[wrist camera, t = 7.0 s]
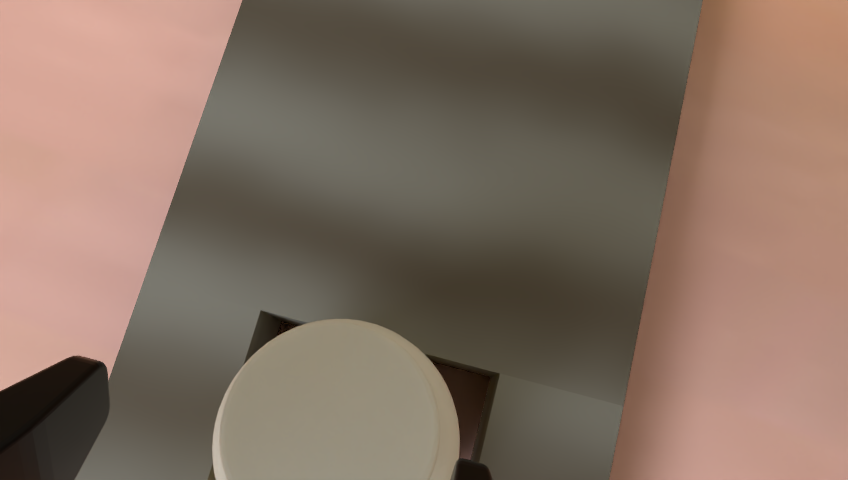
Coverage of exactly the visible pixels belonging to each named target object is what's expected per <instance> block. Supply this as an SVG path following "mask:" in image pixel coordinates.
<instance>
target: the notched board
mask: <svg viewBox="0 0 848 480" xmlns="http://www.w3.org/2000/svg"><path fill="white" fill-rule="evenodd" d="M702 1H703V0H243V1H242V3H241V6H240V9H239V12H238V15H237V18H236V20H235V23H234V26H233V29H232V32H231V35H230V37H229V40H228V43H227V46H226V49H225V52H224V55H223V57H222V60H221V63H220V66H219V69H218V72H217V74H216V77H215V80H214V83H213V86H212V89H211V91H210V94H209V97H208V100H207V103H206V106H205V108H204V111H203V114H202V117H201V120H200V123H199V126H198V128H197V131H196V134H195V137H194V140H193V143H192V145H191V148H190V151H189V154H188V157H187V160H186V162H185V165H184V168H183V171H182V174H181V177H180V179H179V182H178V185H177V188H176V191H175V194H174V197H173V199H172V202H171V205H170V208H169V211H168V214H167V216H166V219H165V222H164V225H163V228H162V231H161V233H160V236H159V239H158V242H157V245H156V248H155V250H154V253H153V256H152V259H151V262H150V265H149V268H148V270H147V273H146V276H145V279H144V282H143V285H142V287H141V290H140V293H139V296H138V299H137V302H136V304H135V307H134V310H133V313H132V316H131V319H130V321H129V324H128V327H127V330H126V333H125V336H124V339H123V341H122V344H121V347H120V350H119V353H118V356H117V358H116V361H115V364H114V367H113V370H112V373H111V375H110V378H109V381H108V384H109V395H110V411H109V415H108V418H107V421H106V423H105V425H104V427H103V428H102V430H101V432H100V434H99V436H98V438H97V440H96V441H95V443H94V445H93V447H92V449H91V451H90V452H89V454H88V456H87V458H86V460H85V462H84V464H83V465H82V467H81V469H80V471H79V473H78V475H77V476H76V478H75V480H216V478H215V474H214V468H213V457H212V444H213V432H214V426H215V421H216V418H217V414H218V410H219V407H220V405H221V402H222V400H223V397H224V395H225V393H226V391H227V389H228V387H229V385H230V384H231V382H232V380H233V379H234V377H235V376H236V374H237V373H238V372H239V370H240V369H241V368H242V366H243V365H244V364H245V363H246V362H247V361H248V360H249V359H250V357H251V356H252V355H253V354H255V353H256V352H257V351H258V350H259V349H260V348H261V347H263V346H264V345H265V344H266V343H268V342H269V341H271V340H272V339H274V338H275V337H277V334H278V331H279V327H280V324H281V322H285V323H289V324H293V325H297V326H301V325H303V324H306V323H311V322H315V321H320V320H328V319H352V320H360V321H365V322H369V323H373V324H377V325H379V326H382V327H384V328H387V329H389V330H391V331H393V332H395V333H397V334H399V335H400V336H402V337H403V338H405V339H406V340H408V341H409V342H411V343H412V344H413V345H414V346H416V347H417V348H418V349H419V350H420V351H421V352H422V353H424V354H425V355H426V356H427V358H428V359H429V360H430V361H432V362H436V363H440V364H444V365H447V366H451V367H455V368H459V369H463V370H466V371H470V372H474V373H478V374H481V375H485V376H489V377H490V381H489V385H488V389H487V393H486V398H485V402H484V406H483V410H482V414H481V419H480V423H479V427H478V431H477V435H476V440H475V444H474V448H473V452H472V457H471V461H474V462H478V463H482V464H484V465H486V466H487V467H488V468H489V470H490V472H491V475H492V479H493V480H609V477H610V472H611V467H612V462H613V457H614V452H615V447H616V442H617V436H618V431H619V426H620V421H621V416H622V411H623V406H624V401H625V396H626V390H627V385H628V380H629V375H630V370H631V365H632V360H633V355H634V349H635V344H636V339H637V334H638V329H639V324H640V319H641V314H642V309H643V303H644V298H645V293H646V288H647V283H648V278H649V273H650V268H651V262H652V257H653V252H654V247H655V242H656V237H657V232H658V227H659V222H660V216H661V211H662V206H663V201H664V196H665V191H666V186H667V181H668V175H669V170H670V165H671V160H672V155H673V150H674V145H675V140H676V135H677V129H678V124H679V119H680V114H681V109H682V104H683V99H684V94H685V88H686V83H687V78H688V73H689V68H690V63H691V58H692V53H693V48H694V42H695V37H696V32H697V27H698V22H699V17H700V12H701V7H702Z"/></svg>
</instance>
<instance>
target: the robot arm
mask: <svg viewBox="0 0 848 480" xmlns="http://www.w3.org/2000/svg"><path fill="white" fill-rule="evenodd" d="M109 411H110V395H109V384H108V372H107V367H106V366H105V364H104V363H103V362H101V361H97V360H94V359H90V358H86V357H82V356H72V357H69V358H66V359H64V360H62V361H60V362H58V363H56V364H54V365H52V366H50V367H48V368H46V369H44V370H42V371H40V372H38V373H36V374H34V375H32V376H30V377H28V378H26V379H24V380H22V381H20V382H18V383H16V384H14V385H12V386H10V387H8V388H6V389H4V390H2V391H0V480H75V478H76V476H77V475H78V473H79V471H80V469H81V467H82V465H83V464H84V462H85V460H86V458H87V456H88V454H89V452H90V451H91V449H92V447H93V445H94V443H95V441H96V440H97V438H98V436H99V434H100V432H101V430H102V428H103V427H104V425H105V423H106V421H107V418H108V415H109ZM450 480H493V479H492V475H491V472H490V470H489V468H488V467H487V466H486V465H484V464H482V463H478V462H474V461H471V460H467V459H463V458H461V459H458V460H457V461H456V463H455V466H454V469H453V472H452V476H451V479H450Z"/></svg>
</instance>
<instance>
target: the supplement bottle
mask: <svg viewBox="0 0 848 480" xmlns="http://www.w3.org/2000/svg"><path fill="white" fill-rule="evenodd" d="M459 448H460V434H459V424H458V417H457V413H456V409H455V406H454V402H453V399H452V396H451V394H450V391H449V389H448V387H447V385H446V383H445V381H444V379H443V378H442V376H441V374H440V373H439V371H438V370H437V369H436V367H435V366H434V364H433V363H432V362H431V361H430V360H429V359H428V358H427V356H426V355H425V354H424V353H422V352H421V351H420V350H419V349H418V348H417V347H416V346H414V345H413V344H412V343H411V342H409V341H408V340H406V339H405V338H403V337H402V336H400V335H399V334H397V333H395V332H393V331H391V330H389V329H387V328H384V327H382V326H379V325H377V324H373V323H369V322H365V321H360V320H352V319H328V320H320V321H315V322H311V323H306V324H303V325H301V326H298V327H295V328H293V329H291V330H289V331H286V332H284V333H282V334H280V335H279V336H277V337H275V338H274V339H272V340H271V341H269V342H268V343H266V344H265V345H264V346H263V347H261V348H260V349H259V350H258V351H257V352H256V353H255V354H253V355H252V356H251V357H250V359H249V360H248V361H247V362H246V363H245V364H244V365H243V366H242V368H241V369H240V370H239V372H238V373H237V374H236V376H235V377H234V379H233V380H232V382H231V384H230V385H229V387H228V389H227V391H226V393H225V395H224V397H223V400H222V402H221V405H220V407H219V410H218V414H217V418H216V421H215V426H214V432H213V444H212V457H213V468H214V474H215V478H216V480H450V479H451V476H452V472H453V469H454V466H455V463H456V461H457V460H458V459H459Z"/></svg>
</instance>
